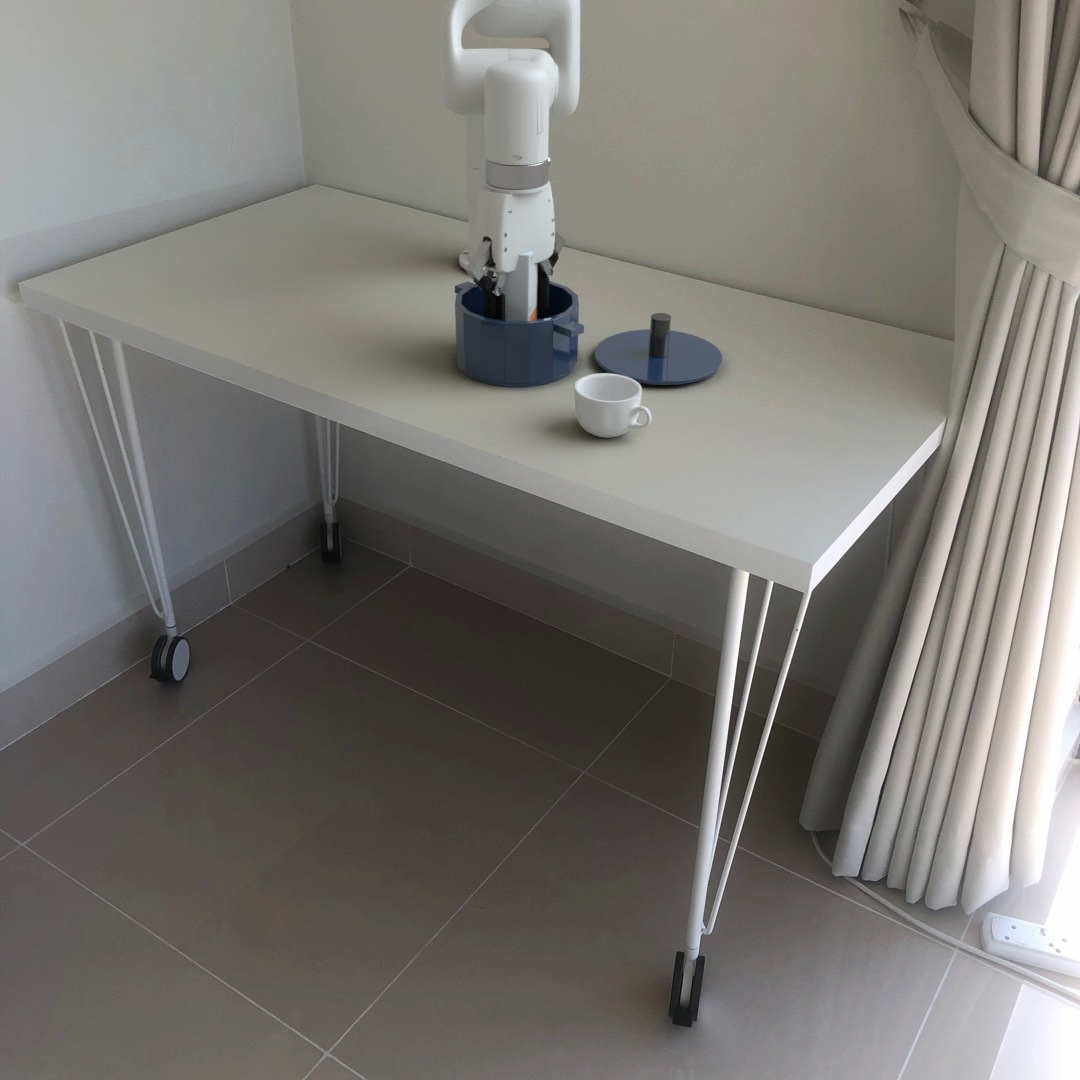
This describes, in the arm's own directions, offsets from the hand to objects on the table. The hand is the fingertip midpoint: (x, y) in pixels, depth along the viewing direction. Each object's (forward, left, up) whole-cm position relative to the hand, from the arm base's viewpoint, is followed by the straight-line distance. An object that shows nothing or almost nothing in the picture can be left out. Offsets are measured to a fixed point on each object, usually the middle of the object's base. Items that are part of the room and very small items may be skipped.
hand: (517, 312), depth 149 cm
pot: (0, 0, -7) cm, 7 cm away
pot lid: (-13, +13, -6) cm, 19 cm away
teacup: (+6, +22, -7) cm, 24 cm away
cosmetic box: (0, 0, -3) cm, 3 cm away
